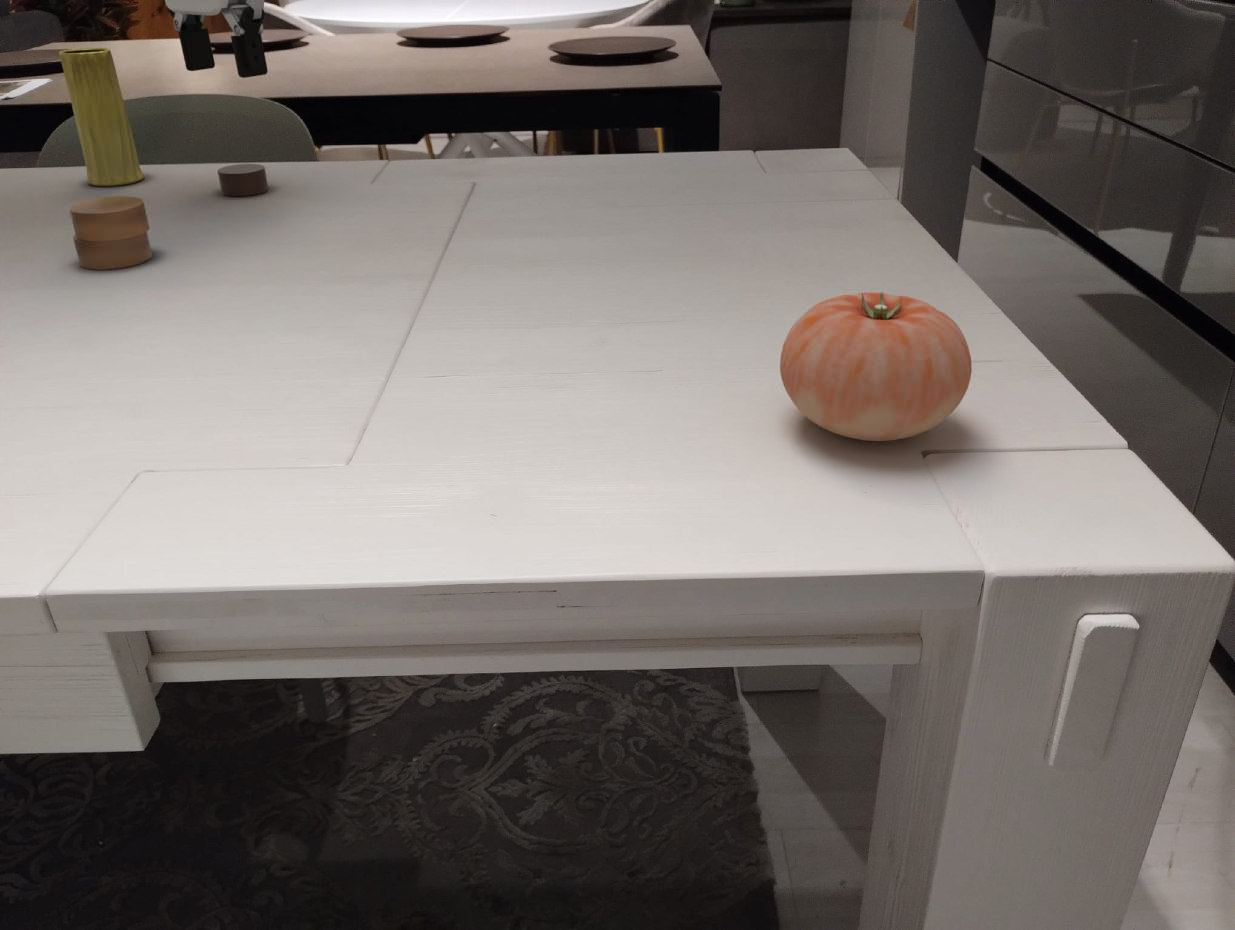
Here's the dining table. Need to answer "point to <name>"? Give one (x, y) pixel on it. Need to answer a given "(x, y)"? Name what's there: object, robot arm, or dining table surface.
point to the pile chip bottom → (113, 252)
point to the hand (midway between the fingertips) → (226, 72)
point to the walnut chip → (243, 180)
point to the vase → (101, 117)
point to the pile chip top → (109, 218)
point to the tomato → (875, 366)
